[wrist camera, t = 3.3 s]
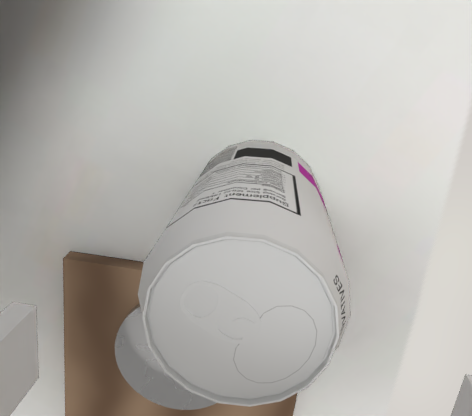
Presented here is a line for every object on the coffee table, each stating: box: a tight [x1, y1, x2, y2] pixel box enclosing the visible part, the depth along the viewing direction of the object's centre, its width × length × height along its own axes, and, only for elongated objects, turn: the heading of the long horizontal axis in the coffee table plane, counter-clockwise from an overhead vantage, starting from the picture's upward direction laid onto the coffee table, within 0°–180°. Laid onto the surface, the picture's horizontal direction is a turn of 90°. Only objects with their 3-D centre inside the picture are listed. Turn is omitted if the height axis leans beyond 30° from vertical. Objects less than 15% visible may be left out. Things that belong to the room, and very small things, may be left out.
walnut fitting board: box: [63, 251, 297, 416], centre depth 35 cm, size 18×24×1 cm
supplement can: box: [138, 140, 351, 407], centre depth 23 cm, size 8×8×15 cm
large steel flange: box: [115, 303, 216, 410], centre depth 32 cm, size 10×10×1 cm
